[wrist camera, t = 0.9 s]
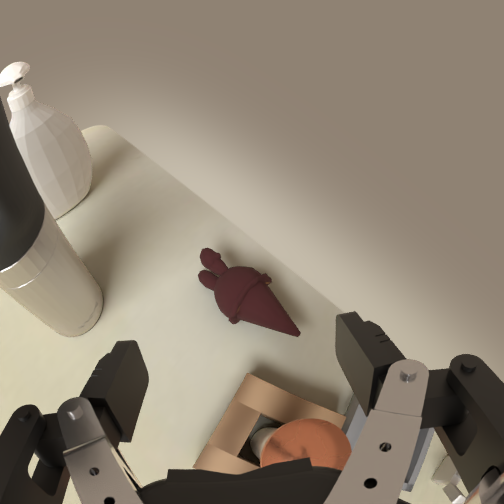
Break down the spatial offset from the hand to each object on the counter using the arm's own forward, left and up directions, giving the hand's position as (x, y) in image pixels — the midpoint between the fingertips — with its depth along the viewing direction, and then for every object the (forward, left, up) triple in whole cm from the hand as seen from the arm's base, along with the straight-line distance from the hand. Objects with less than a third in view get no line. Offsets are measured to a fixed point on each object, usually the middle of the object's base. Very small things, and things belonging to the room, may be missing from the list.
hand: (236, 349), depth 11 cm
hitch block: (+7, -3, -24) cm, 25 cm away
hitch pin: (+7, -3, -24) cm, 25 cm away
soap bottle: (-37, +11, -24) cm, 46 cm away
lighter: (+32, -1, -24) cm, 40 cm away
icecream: (-4, +11, -24) cm, 27 cm away
